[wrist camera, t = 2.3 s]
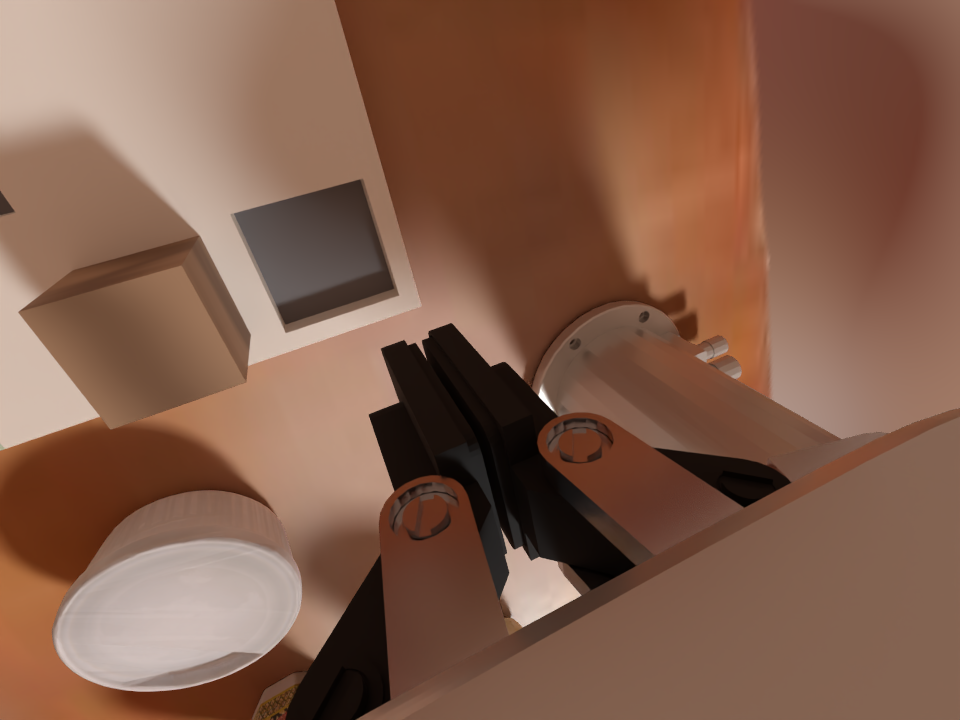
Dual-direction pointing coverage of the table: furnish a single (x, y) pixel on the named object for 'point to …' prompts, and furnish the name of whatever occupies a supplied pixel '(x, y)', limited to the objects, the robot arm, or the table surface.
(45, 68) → the trap deck
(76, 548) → the table surface
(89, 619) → the ramekin
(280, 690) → the ceramic cup
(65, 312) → the walnut block
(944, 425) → the robot arm
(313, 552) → the table surface
